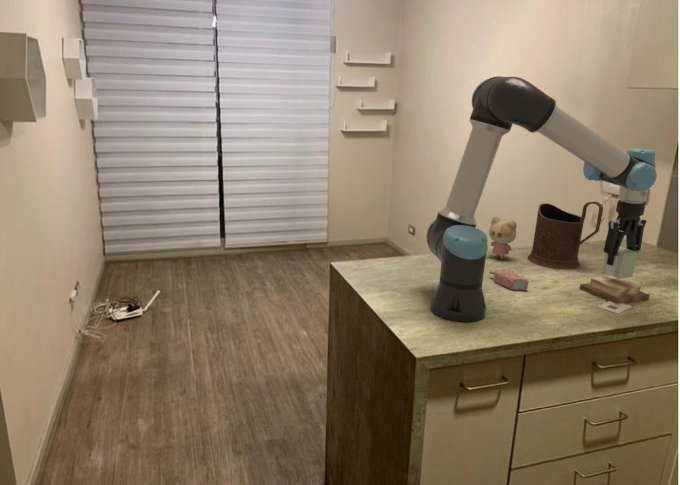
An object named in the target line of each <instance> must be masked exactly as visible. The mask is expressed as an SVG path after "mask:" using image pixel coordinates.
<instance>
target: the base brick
mask: <svg viewBox="0 0 680 485" xmlns="http://www.w3.org/2000/svg"><path fill="white" fill-rule="evenodd" d="M641 287H642V285H640V284H638V283H636V282H633V281H630V280H627V279H626V278H621V279H618V278H615V277H613V276H610V275H605V276H598V277H591V279H590V282H587V283H581V284H579V289H580V290H582V291H584V292H586V293H588V294H591V295H593V296H595V297H597V298H600V299H602V300H604V301H606V302H608V301H611V302H613V303H615V304H621V303H624V304H631V303H636V302H640V301H641V302H642V301H647V300H650V294H649V293H646V292H643V291H641V289H642V288H641Z"/></svg>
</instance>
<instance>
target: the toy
mask: <svg viewBox="0 0 680 485" xmlns="http://www.w3.org/2000/svg"><path fill="white" fill-rule="evenodd" d="M517 227H518V226H517V222H516V221H515V220H510V221H508V222H507V221H503V220H501V218H499V217H497V216H494V217H493V218H491V222H490V226H489V231H488V235H489V238H490V239H491V240H492V242H490V246H491V247H493V248H492V251H491V253H493V254H494V255H495V257H494V258H496V259H498V258H499V259H500V260H504V259H505V255H509V253H510V252H511V251H512V247H511V245H510V244H511V243H512V242H513V241H515V239H516V237H517Z"/></svg>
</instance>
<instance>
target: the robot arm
mask: <svg viewBox="0 0 680 485" xmlns="http://www.w3.org/2000/svg"><path fill="white" fill-rule="evenodd" d="M471 107H472V111H471V114H470V117H469V122H470V124H471V127H472V128H471V132H470V134H469V137H468V140H467V143H466V145H465V149H464V152H463V155H462V158H461V159H460V160H461V161H460V163H459V167H458V170H457V172H456V176H455V177H454V178H455V179H454V182H453V185H452V187H451V190H450V193H449V195H448V198H447V202H446V205H445V207H444V208H441V209H440V210H438V213H437V215H436V218H435V219H434V221H432V222H431V223H430V224H429V226H428V228H427V230H426V235H425V236H426V237H425V238H426V244H427V246H428V248H429V250H430V252H431V253H432V254H433V255H434V256H435V257H436V258H437V259H438V260H439V261H440V271H439V281H438V284H437V287H436V289H435V292H434V294H433V296H432V298H431V300H430V310H431V312H432V313H433V314H434V315H436V316H437V317H440V318H442V319H444V320H449V321H455V322H463V323H471V322H477V321H480V320H482V319H484V318H485V317H486V312H487V306H486V302H485V297H484V291H483V281H484V276H485V274H484V273H485V266H486V260H487V252H488V249H489V248H488V247H489V246H488V236H487V234H486V233H485V232H484V231H483V230H481V229H479V228H476V227H477V224H478V223H477V220H476V219H475V214H476V211H477V208H478V205H479V203H480V200H481V197H482V195H483V192H484V189H485V186H486V182H487V180H488V177H489V174H490V171H491V169H492V165H493V163H494V161H495V159H496V158H495V157H496V156H497V155H496V154H497V152H498V149H499V147H500V144H501V141H502V138H503V136H505V135H507V134H508V133H510V132H511V129H512V127H513V125H515V126H517V127H518V126H519V127H520V128H522V129H524V130H526V131H528V132H530V133H532V134H534V133H539V134H540V135H541V136H543V137H545V138H547V139H548V140H550V141H551V142H553V143H554V144H556V145H558V146H559V147H561V148H562V149H564V150H566V151H567V152H568V153H570V154H572V155H573V156H575V157H576V158H578V159H579V160H581V161H583V162H584V163H583V169H582V171H583V175H584V177H585V178H586V180H589V181H595V182H600V181H602V182H606V183H609V184H612V185H616V186H619V191H618V195H617V197H618V200H617V203H616V208H615V211H616V213H617V217H616V219H615V220H609V221H608V230H607V235H606V239H605V243H604V247H603V253H605V254H606V253H607V254H608V259H607V267H606V273H604V274H605V275H607V276H615V270H616V265H617V260H618V256H617V252H618V250H619V247H621V245H622V242H623V240H624V238H625V237H626V239H625V242H626V248H627V249H630V250H633V251H636V252H637V255H638V254H639V252H640V251H641V248H642V241H643V236H644V230H645V226H646V224H647V220H646V219H642V218H641V216H643V215H645V209H646V203H645V202H647V199H648V194H649V189H650V188H652V187H653V185H655V183H656V181H657V175H658V174H657V170H656V169H655V168H656V167H655V161H656V160H655V159H656V152H655V151H654V150H653V149H648V148H639V147H638V148H634V147H632V148H630V147H629V148H628V149H627V151H624V150H622V149H621V148H620V147H618V145H617V146H616V145H615V144H613V143H612V142H611V141H609V140H608V139H606V138H604V137H603V136H602V135H600V134H599V133H597V132H595V131H594V130H593V129H591V128H590V127H588V126H586V125H585V124H584V123H582V122H581V121H579V120H577V118H575V117H573V116H572V115H570V114H569V113H567V112H566V111H565V110H563V109H561V108H559V106H557V101H556V100H555V99H554V98H552V97H551V96H550V95H549V94H546V93H545V92H544V91H543V90H541V89H539V88H538V87H537V86H535V85H534V84H532V83H531V82H530V81H528V80H526V79H524V78H522V77H518V76H500V75H498V76H493V77H488V78H487V79H484V80H483V81H481V82H480V83H479V84H478V85H477V86H476V88H475V89H474V91H473V93H472V96H471ZM613 250H614V251H613Z"/></svg>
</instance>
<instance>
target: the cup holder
mask: <svg viewBox="0 0 680 485" xmlns="http://www.w3.org/2000/svg"><path fill="white" fill-rule="evenodd" d="M591 204H592V205H596V206H597V207H598V214H597V219H596V225H595V229H594V231H593V232H592V233H590V234H589V235H587V236H586V237H585V238H583V239H582V240H581V238H582V234H583V229H584V223H585V219H586V214H587V210H588V209H587V208H588V206H589V205H591ZM603 211H604V206H603V204H601V202H598V201H588V202H586V203H585V204H584V205H583V207H582V211H581V212H582V213H581V216H580V215H577V214H574V213H571V212H567V211H565V210H563V209H561V208H560V207H557V206H555V205H554V204H551V203H547V202H546V203H540V204H539V206H538V209H537V215H536V216H537V217H536V222H535V229H534V235H533V236H534V237H533V244H532V249H531V251H530V254H529V255H528V256H527V257H526V258H527V260H528V261H529V262H530V263H531V264H534V265H536V266H540V267H543V268H548V269H553V270H562V271H568V270H576V269H578V268H580V267H581V264H580V262H579V252H580V245H582V244H584V243H585V242H586V241H588V240H589V239H590V238H592V237H593V236H595V235H596V234H597V233H599V231H600V228H601V221H602V216H603V213H604V212H603Z"/></svg>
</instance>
